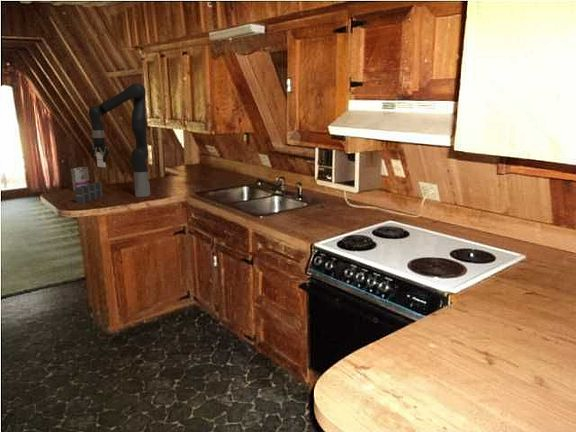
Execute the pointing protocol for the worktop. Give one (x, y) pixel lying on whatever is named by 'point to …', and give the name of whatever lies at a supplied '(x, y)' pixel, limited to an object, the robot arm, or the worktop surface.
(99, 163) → the ivory domino
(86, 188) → the domino
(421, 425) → the worktop surface
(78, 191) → the domino
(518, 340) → the worktop surface
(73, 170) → the candy bar box
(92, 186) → the domino
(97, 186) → the domino
